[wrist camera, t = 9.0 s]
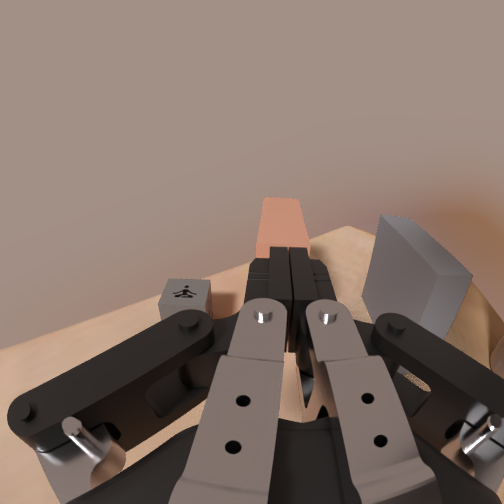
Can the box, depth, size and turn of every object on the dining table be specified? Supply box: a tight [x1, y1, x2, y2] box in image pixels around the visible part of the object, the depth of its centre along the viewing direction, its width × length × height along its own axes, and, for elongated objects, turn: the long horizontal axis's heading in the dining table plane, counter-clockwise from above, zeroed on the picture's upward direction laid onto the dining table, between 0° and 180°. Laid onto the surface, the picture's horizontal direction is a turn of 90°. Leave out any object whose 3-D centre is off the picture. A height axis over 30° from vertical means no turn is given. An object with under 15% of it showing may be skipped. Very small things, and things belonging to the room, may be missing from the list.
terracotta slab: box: [256, 197, 311, 351], centre depth 32 cm, size 15×4×12 cm, turn 175°
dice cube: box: [158, 279, 212, 320], centre depth 30 cm, size 5×5×5 cm
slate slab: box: [362, 215, 473, 374], centre depth 28 cm, size 15×4×12 cm, turn 176°
